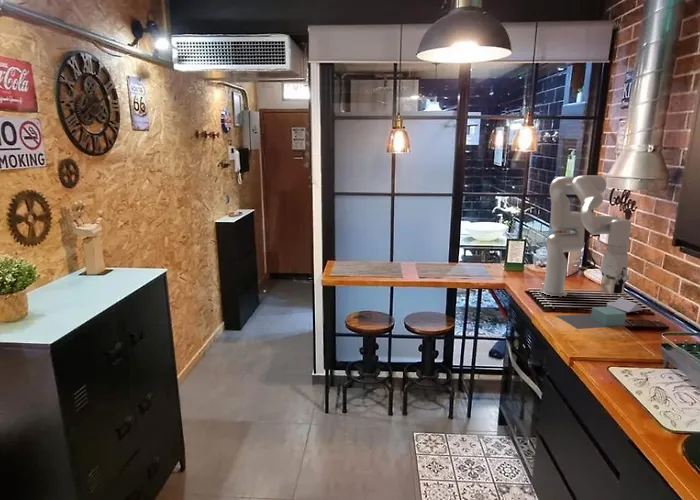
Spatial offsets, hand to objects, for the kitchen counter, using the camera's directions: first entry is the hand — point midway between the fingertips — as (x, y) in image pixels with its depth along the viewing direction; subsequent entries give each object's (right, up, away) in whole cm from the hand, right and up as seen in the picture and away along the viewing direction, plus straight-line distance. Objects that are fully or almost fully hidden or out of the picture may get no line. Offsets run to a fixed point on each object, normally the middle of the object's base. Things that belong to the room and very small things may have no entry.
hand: (611, 290), depth 192 cm
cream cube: (0, -1, 0) cm, 1 cm away
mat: (-6, -14, +4) cm, 16 cm away
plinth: (0, -14, +3) cm, 14 cm away
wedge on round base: (+14, -12, +17) cm, 25 cm away
